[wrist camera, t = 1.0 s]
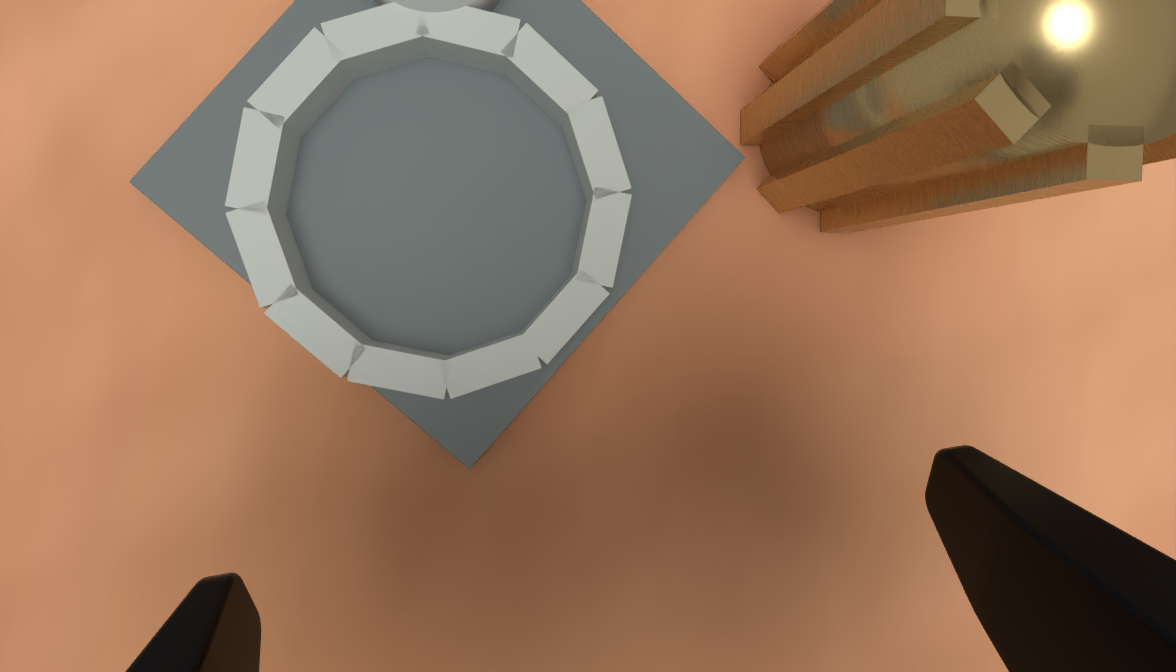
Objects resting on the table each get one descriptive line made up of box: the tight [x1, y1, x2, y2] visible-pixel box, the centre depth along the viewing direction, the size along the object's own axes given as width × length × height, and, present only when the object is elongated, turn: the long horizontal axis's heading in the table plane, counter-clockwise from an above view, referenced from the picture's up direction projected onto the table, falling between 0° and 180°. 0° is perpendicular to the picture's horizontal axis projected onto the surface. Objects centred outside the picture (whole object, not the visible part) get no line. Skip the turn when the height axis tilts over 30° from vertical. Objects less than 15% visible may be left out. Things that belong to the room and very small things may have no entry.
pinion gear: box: [740, 0, 1176, 232], centre depth 19 cm, size 6×6×11 cm
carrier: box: [129, 0, 745, 469], centre depth 22 cm, size 12×12×3 cm
